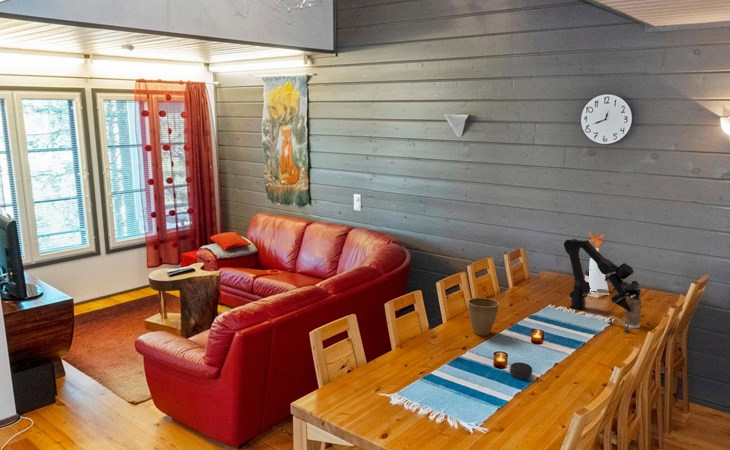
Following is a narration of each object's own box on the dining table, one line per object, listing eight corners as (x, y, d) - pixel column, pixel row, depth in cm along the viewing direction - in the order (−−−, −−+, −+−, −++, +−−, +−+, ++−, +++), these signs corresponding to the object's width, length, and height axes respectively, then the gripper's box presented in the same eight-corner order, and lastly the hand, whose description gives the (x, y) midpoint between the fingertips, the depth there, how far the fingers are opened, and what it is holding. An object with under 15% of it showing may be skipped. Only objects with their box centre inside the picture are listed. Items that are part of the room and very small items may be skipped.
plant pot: (497, 339, 285) (499, 307, 282) (466, 337, 287) (467, 305, 284) (497, 328, 299) (498, 298, 296) (467, 326, 302) (468, 296, 299)
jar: (600, 290, 367) (602, 271, 365) (593, 292, 362) (595, 273, 360) (587, 286, 374) (589, 268, 372) (580, 289, 369) (582, 270, 367)
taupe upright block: (624, 323, 307) (626, 299, 304) (630, 321, 309) (632, 297, 307) (633, 326, 302) (635, 302, 300) (639, 324, 305) (641, 300, 303)
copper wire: (606, 323, 308) (607, 315, 307) (611, 323, 309) (612, 314, 308) (625, 333, 295) (626, 324, 294) (631, 332, 296) (631, 324, 295)
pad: (620, 325, 306) (620, 323, 306) (626, 321, 312) (626, 320, 311) (636, 329, 300) (636, 327, 300) (642, 325, 306) (642, 324, 306)
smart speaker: (515, 368, 253) (515, 359, 252) (535, 374, 247) (535, 365, 247) (506, 375, 246) (506, 366, 245) (526, 381, 240) (526, 372, 240)
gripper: (618, 278, 299) (636, 305, 292) (639, 273, 310) (657, 299, 303) (603, 289, 307) (620, 315, 300) (624, 284, 317) (641, 309, 310)
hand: (635, 309), depth 303 cm, fingers open, 9 cm apart
